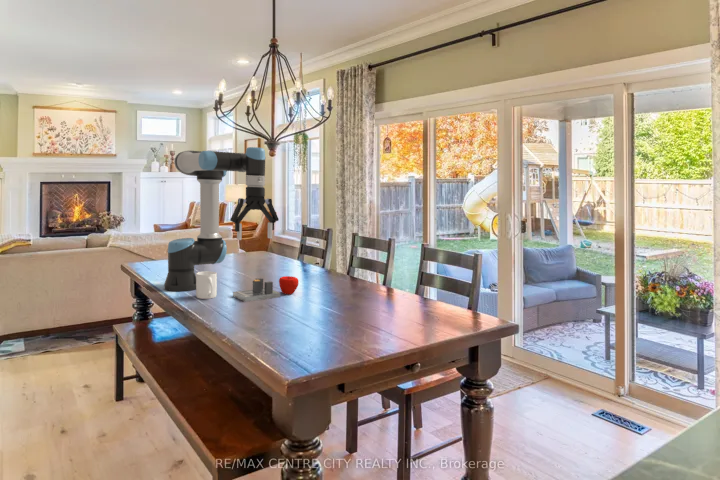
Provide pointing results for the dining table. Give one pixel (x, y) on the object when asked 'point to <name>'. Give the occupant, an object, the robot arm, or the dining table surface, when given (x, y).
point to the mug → (206, 285)
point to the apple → (288, 284)
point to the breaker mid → (256, 286)
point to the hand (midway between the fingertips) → (254, 239)
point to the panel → (254, 295)
